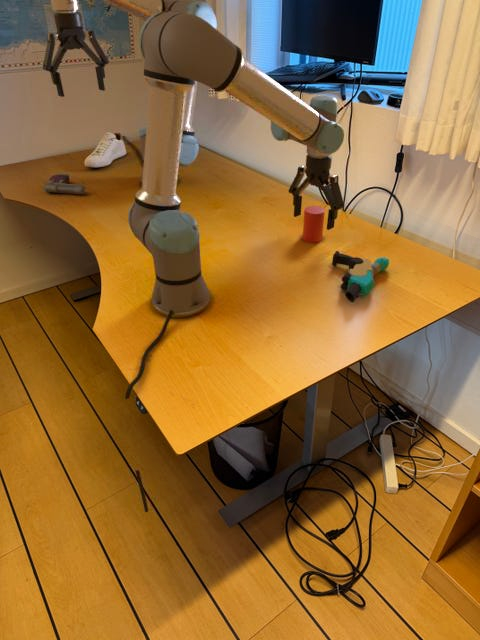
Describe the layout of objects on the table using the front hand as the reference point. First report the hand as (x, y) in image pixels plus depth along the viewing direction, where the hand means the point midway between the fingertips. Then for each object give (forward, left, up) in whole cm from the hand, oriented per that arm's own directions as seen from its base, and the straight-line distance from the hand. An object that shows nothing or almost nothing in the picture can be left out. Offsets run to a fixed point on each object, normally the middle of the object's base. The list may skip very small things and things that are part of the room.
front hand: (313, 222), depth 152 cm
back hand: (+15, +74, +35) cm, 83 cm away
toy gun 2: (-26, -10, -6) cm, 29 cm away
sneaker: (+75, +92, -6) cm, 119 cm away
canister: (0, 0, -6) cm, 6 cm away
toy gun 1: (+40, +96, -6) cm, 104 cm away
